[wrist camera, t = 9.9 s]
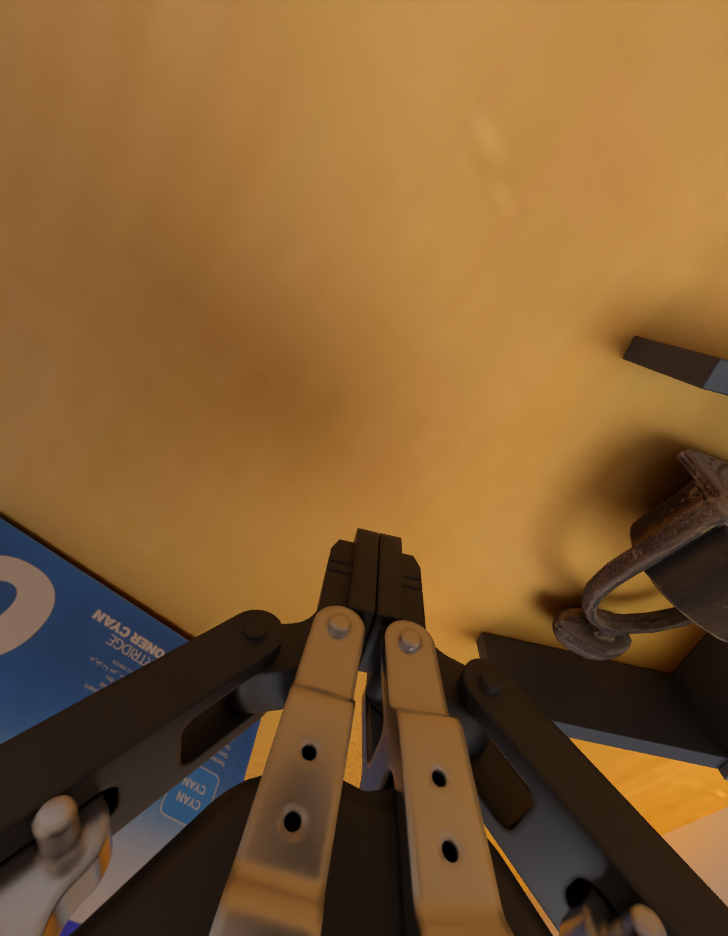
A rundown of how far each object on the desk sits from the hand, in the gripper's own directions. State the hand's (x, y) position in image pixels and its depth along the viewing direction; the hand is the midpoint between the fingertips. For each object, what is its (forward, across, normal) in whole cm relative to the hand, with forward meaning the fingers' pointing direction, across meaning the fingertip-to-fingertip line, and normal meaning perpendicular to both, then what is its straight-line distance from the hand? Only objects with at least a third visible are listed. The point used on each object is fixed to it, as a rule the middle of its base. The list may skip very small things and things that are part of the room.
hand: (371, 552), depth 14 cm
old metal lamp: (+8, -14, +1) cm, 16 cm away
